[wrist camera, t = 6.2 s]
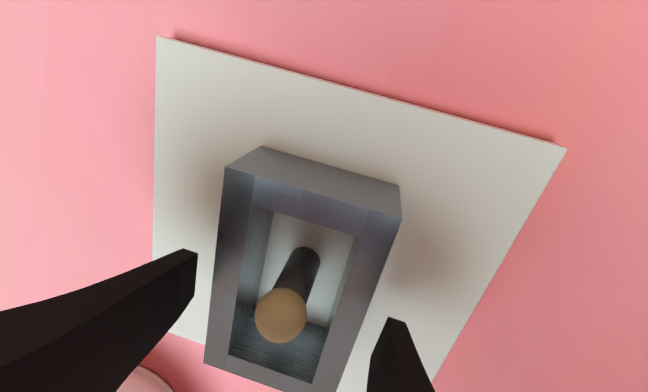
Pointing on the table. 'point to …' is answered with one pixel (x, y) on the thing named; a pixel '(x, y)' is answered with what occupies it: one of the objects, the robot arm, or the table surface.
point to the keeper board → (353, 155)
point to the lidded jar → (144, 382)
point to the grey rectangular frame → (249, 255)
